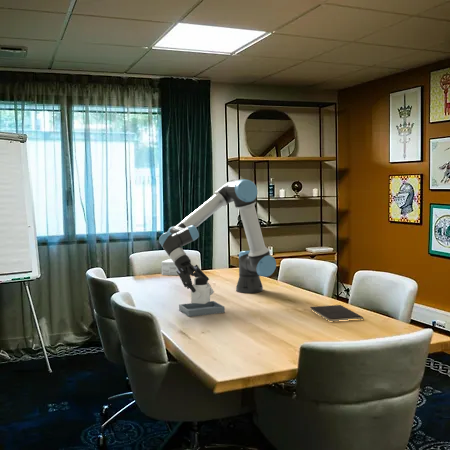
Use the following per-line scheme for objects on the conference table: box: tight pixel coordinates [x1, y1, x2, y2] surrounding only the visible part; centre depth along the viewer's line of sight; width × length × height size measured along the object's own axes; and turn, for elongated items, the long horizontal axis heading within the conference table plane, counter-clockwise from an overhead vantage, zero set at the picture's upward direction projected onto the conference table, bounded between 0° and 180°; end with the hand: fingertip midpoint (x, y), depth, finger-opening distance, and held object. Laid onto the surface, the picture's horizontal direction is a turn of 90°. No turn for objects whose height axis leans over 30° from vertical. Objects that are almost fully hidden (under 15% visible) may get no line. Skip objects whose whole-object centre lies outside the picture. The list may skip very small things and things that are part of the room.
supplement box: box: [160, 258, 179, 276], centre depth 361 cm, size 17×13×9 cm
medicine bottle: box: [190, 277, 211, 304], centre depth 249 cm, size 7×7×12 cm
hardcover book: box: [309, 304, 364, 321], centre depth 239 cm, size 16×23×2 cm
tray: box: [178, 300, 226, 317], centre depth 250 cm, size 18×14×3 cm
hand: (206, 295), depth 247 cm, fingers closed on medicine bottle, 9 cm apart
